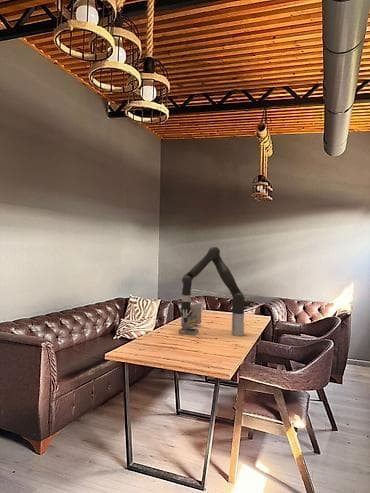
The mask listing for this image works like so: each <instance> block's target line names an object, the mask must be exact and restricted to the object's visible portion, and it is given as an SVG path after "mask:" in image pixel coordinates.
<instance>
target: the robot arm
mask: <svg viewBox="0 0 370 493" xmlns="http://www.w3.org/2000/svg"><path fill="white" fill-rule="evenodd" d="M211 262H212V263H213V265H214V266H215V268H216V271H217V273H218V275H219V277H220V279H221V281H222V283H224V285H225V287H227V289H228V291H229V292H230V294H231V296H232V301H231V302H232V304H231V305H232V307H231V309H232V313H231V314H232V316H231V317H232V318H231V335H232V336H235V337H236V336H237V337H243V336H244V335H245V319H244V318H245V301H246V299H245V295H244V293H243V292H242V290H240V288H239V287H238V285H237V282H236V279H235V278H234V275H233V274H232V272H231V270H230V268H229V267H228V266H227V265H226V263H225V262H224V261H223V259H222V257H221V251H220V249H219V247H217V246H212V247H210V248H208V251H207V252H206V254H205V255H204V256H203V258H201V259H200V261H199V262H197V263H196V264H195V265H194V266H193V267H192V268H191V269H190V270H189V271H188V272H186V273H185V274H184V276H182V279H181V282H182V289H181V305H180V309H179V310H178V312H177V313H179V315H180V317H181V316H182V317H184V322H187V321H188V317H190V316H191V315H192V313H193V311H192V310H191V304H192V300H191V299H192V297H191V295H192V294H191V293H192V285H193V282H192V281H193V280H194V279H195V278H196V277H198V276H199V275H200V274H201V273H202V272H203V270H204V269H205V268H207V266H208V265H209V264H210V263H211ZM182 312H183V313H182ZM189 312H190V314H189V315H188V313H189Z"/></svg>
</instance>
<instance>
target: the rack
mask: <svg viewBox="0 0 370 493" xmlns="http://www.w3.org/2000/svg"><path fill="white" fill-rule="evenodd" d="M178 334H179V335H186V336H187V335H188V336H196V335H198V334H199V328H196V329H191V328H188V330H182V328H180V329H178Z"/></svg>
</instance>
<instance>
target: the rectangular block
mask: <svg viewBox="0 0 370 493" xmlns="http://www.w3.org/2000/svg"><path fill="white" fill-rule="evenodd" d="M188 326H189V322H184V323H182V327H181V329H182V330H188Z"/></svg>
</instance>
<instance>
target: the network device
mask: <svg viewBox="0 0 370 493" xmlns="http://www.w3.org/2000/svg"><path fill="white" fill-rule="evenodd" d="M191 310H192V311H193V313H192V315H191V316H190V317H188V321H187V322H189V326H188V328H191V329H199V328H201V325H200V324H201V323H202V303H201V302H195V303H191ZM182 313H183V312H182ZM189 314H190V312H189V313H188V315H189ZM180 317H181V318H180V319H181V320H180V327H181V328H182V323H184V317H182V316H181V315H180Z"/></svg>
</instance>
